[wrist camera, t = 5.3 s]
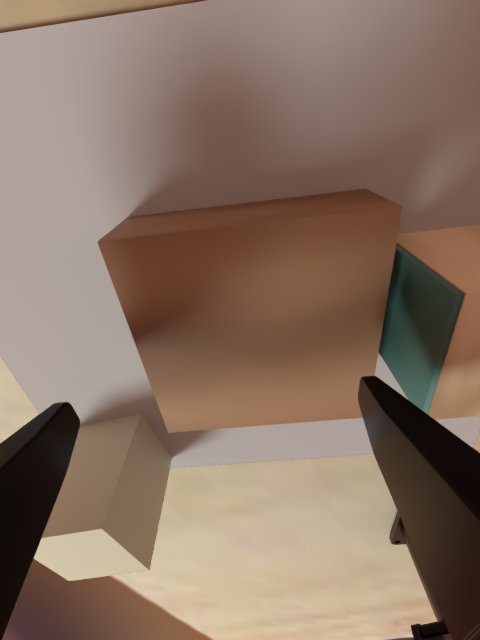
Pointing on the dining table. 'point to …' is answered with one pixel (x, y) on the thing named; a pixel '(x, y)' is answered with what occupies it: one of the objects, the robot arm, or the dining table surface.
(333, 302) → the plinth
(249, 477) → the dining table surface
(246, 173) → the mat
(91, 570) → the beige rectangular block
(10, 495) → the robot arm
